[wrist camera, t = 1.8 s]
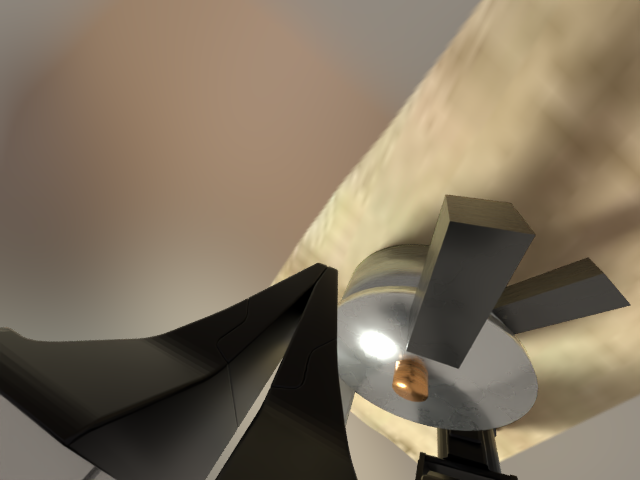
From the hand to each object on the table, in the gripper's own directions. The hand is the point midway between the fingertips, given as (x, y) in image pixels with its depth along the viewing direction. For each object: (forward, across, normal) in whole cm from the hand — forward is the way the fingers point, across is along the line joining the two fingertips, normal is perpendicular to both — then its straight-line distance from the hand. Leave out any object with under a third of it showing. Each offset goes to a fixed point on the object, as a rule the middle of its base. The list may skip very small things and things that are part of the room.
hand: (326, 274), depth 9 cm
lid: (+6, -7, +8) cm, 12 cm away
